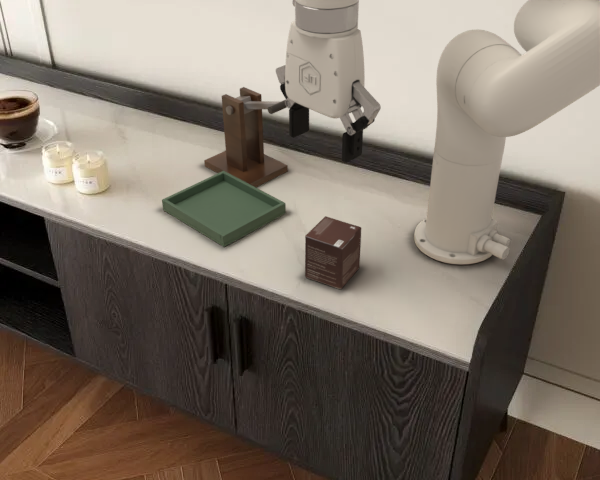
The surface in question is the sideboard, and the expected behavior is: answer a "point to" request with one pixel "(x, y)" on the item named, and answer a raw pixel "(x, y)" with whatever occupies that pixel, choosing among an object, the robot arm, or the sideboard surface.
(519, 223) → the sideboard surface
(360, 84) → the robot arm
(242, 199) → the square tray
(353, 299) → the sideboard surface
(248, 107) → the lever handle
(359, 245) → the box
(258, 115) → the brown lever stand
